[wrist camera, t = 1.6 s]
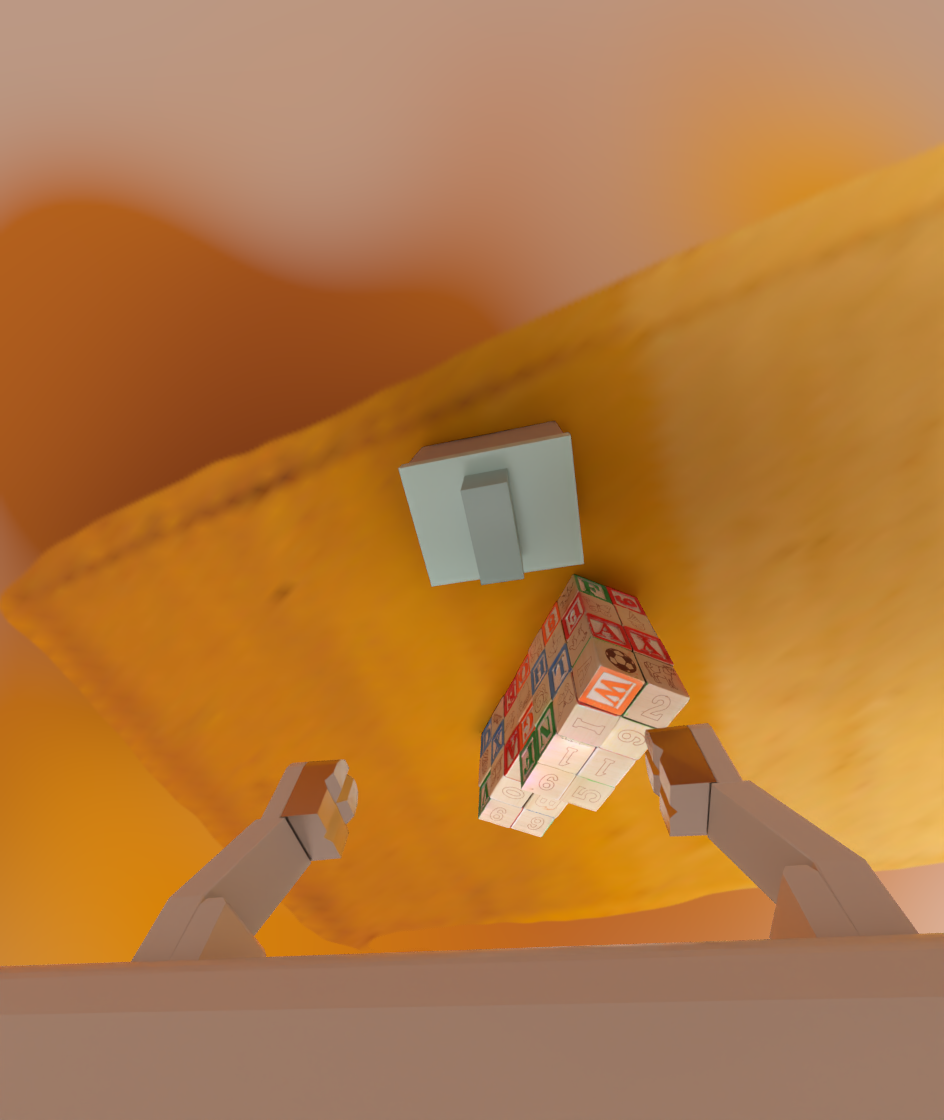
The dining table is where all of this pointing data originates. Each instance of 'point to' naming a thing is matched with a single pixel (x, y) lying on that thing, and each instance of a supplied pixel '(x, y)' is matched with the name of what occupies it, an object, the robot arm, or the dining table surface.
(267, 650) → the dining table surface
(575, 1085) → the robot arm
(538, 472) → the lid
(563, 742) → the stack of blocks
